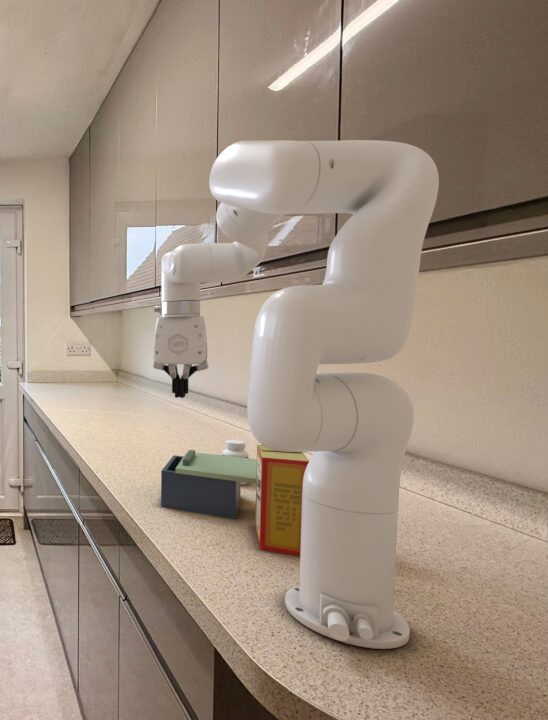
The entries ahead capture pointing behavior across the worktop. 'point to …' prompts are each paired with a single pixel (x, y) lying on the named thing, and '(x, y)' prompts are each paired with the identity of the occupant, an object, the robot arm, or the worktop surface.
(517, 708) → the worktop surface
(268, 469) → the baking soda box
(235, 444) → the pill bottle
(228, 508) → the storage bin
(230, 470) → the bin lid
